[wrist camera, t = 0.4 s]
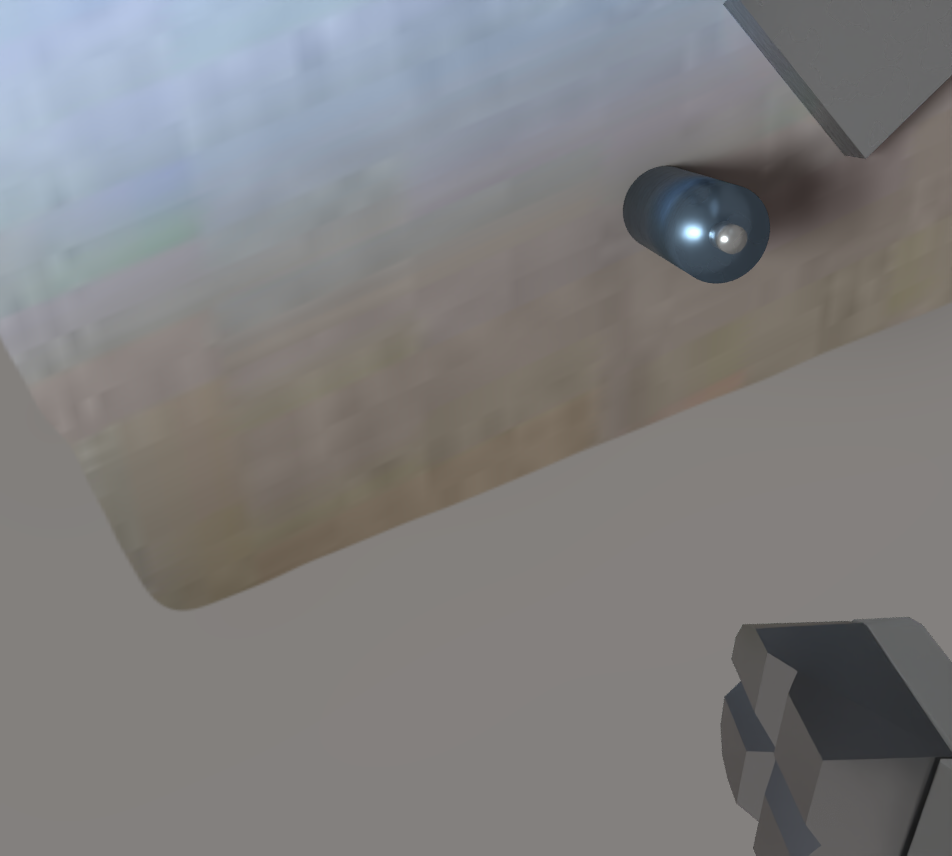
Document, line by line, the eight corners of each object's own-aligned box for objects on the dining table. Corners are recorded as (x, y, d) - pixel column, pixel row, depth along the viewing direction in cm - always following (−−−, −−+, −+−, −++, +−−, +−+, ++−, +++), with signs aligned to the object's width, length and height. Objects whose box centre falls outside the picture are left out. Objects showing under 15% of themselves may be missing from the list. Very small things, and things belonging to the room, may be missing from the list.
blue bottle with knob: (623, 168, 53) (686, 191, 42) (704, 163, 53) (786, 184, 42) (622, 251, 55) (682, 293, 44) (700, 245, 55) (778, 286, 44)
